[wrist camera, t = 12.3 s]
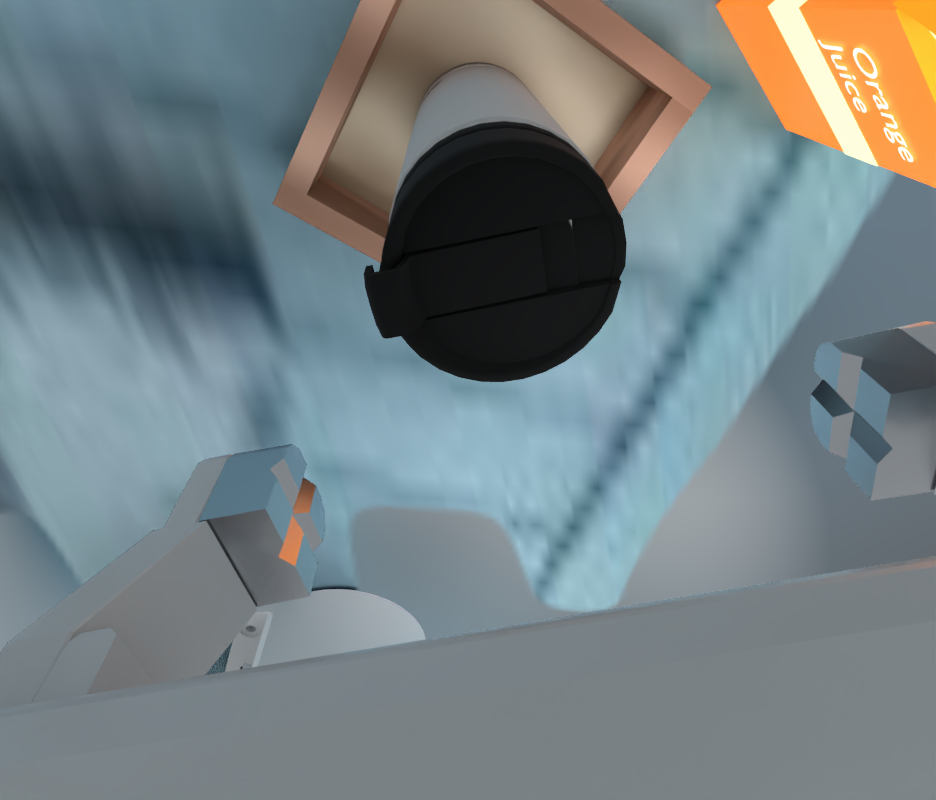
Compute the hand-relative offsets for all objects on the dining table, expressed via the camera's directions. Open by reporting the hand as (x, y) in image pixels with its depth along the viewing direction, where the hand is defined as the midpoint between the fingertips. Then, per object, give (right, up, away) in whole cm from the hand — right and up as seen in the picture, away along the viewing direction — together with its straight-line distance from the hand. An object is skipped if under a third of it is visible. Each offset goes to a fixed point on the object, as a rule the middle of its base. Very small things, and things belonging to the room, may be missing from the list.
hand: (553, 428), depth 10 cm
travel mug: (-1, +14, +22) cm, 26 cm away
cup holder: (-1, +15, +23) cm, 27 cm away
